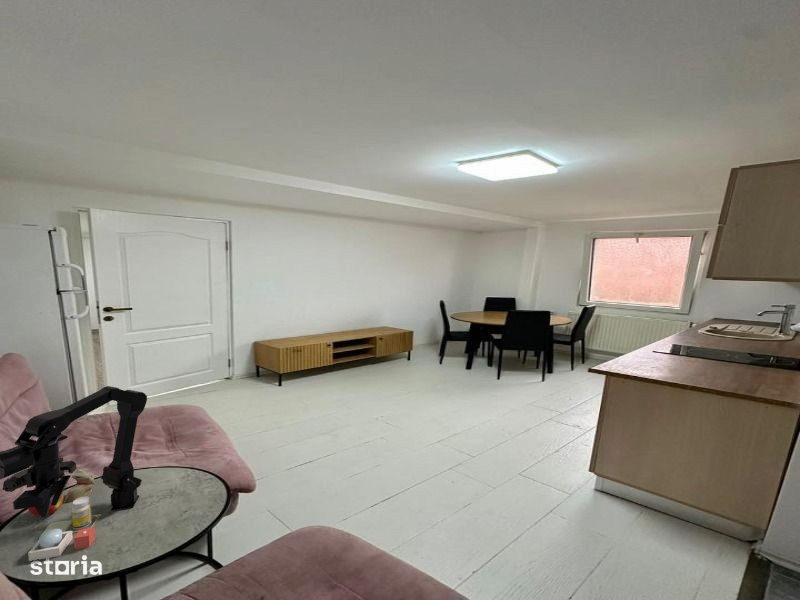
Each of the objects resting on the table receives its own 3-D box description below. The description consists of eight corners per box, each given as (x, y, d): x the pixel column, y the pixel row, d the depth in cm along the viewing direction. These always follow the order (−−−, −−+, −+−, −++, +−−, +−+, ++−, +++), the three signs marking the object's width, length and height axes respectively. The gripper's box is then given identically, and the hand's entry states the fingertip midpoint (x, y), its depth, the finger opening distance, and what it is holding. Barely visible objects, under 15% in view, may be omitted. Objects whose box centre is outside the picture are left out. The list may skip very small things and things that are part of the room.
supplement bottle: (80, 519, 120) (78, 495, 119) (95, 519, 120) (94, 495, 120) (68, 530, 115) (66, 505, 114) (84, 529, 116) (83, 504, 115)
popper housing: (72, 538, 112) (72, 530, 112) (59, 555, 106) (59, 547, 105) (43, 542, 110) (43, 535, 110) (28, 561, 103) (28, 553, 103)
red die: (95, 538, 113) (94, 526, 112) (89, 546, 109) (88, 535, 109) (80, 540, 111) (80, 529, 111) (74, 549, 108) (73, 537, 108)
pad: (72, 520, 119) (72, 520, 119) (63, 533, 114) (63, 532, 114) (51, 523, 118) (51, 523, 118) (40, 536, 112) (40, 535, 112)
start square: (101, 515, 122) (101, 514, 122) (90, 530, 116) (90, 529, 116) (74, 519, 120) (74, 518, 120) (62, 534, 113) (62, 533, 113)
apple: (49, 521, 118) (47, 498, 118) (21, 522, 118) (19, 498, 117) (69, 505, 126) (68, 483, 125) (43, 505, 126) (41, 483, 125)
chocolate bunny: (93, 496, 131) (92, 469, 130) (63, 503, 127) (62, 476, 126) (95, 488, 136) (94, 462, 135) (66, 495, 132) (65, 468, 130)
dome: (65, 536, 111) (65, 527, 110) (56, 548, 106) (56, 539, 106) (45, 539, 109) (45, 530, 109) (35, 552, 105) (35, 542, 104)
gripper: (30, 446, 111) (34, 495, 113) (-16, 483, 93) (-11, 540, 95) (76, 442, 115) (78, 489, 116) (39, 476, 97) (43, 531, 99)
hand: (49, 510), depth 107 cm, fingers open, 5 cm apart
